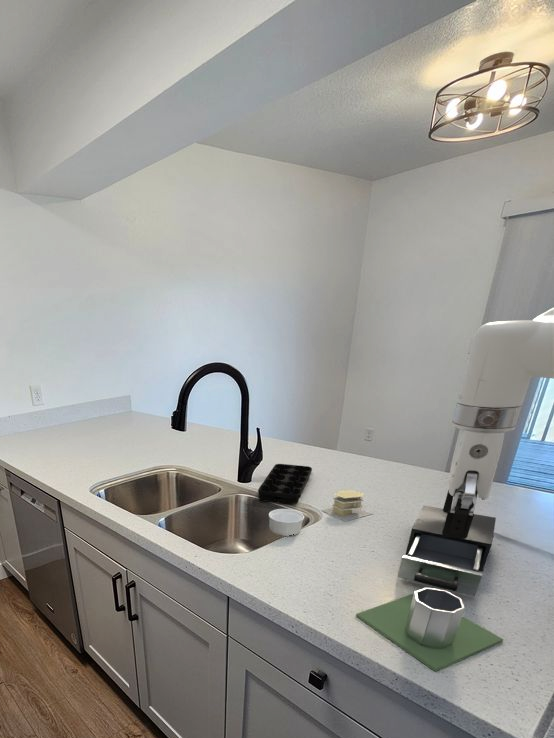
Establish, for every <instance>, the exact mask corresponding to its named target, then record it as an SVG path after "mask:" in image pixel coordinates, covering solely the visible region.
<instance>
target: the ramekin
mask: <svg viewBox="0 0 554 738" xmlns="http://www.w3.org/2000/svg"><path fill="white" fill-rule="evenodd" d="M268 520H269V521H268V523H269V525H268V527H269V530H270V532H271V533H273V534H275V535H278V536H283V537H290V536H289V535H292V536H296V535H298V534H299V533H300V532H301V530H302V526H303V521H304V520H305V515H304V514H303V513H302V512H300V511H298V510H295V509H290V508H278V509H277V508H276V509H273V510H271V511H269V513H268ZM293 534H294V535H293Z"/></svg>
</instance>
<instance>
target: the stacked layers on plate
mask: <svg viewBox="0 0 554 738" xmlns="http://www.w3.org/2000/svg"><path fill="white" fill-rule="evenodd" d="M334 496H335V497H333V498H332V500H334V502H333V504H332V505H331V506H332V507H329V508H325V509H321V510H320V511H321V512H323V513H325V514H327V515H330V516H332V517H334V518H336V519H339V520H341V521H343V522H349V521H352V520H356V519H359V518H362V517H366V516H371V515H372V514H373V513H372V512H369V511H366V510H364V509H362V508H363V504H362V502H363V501H364V498H363V497H365V494H364V493H363V492H361V491H360V492H359V491H355V490H352V489H342V490H340V491H338V492H335V493H334Z"/></svg>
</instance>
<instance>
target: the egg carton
mask: <svg viewBox="0 0 554 738" xmlns="http://www.w3.org/2000/svg"><path fill="white" fill-rule="evenodd" d="M312 472H313V468H312V467H311V466H307V465H297V464H286V463H276V464H274V466H273V467H272V469H271V470H270V471H269V473H268V475H267V476H266V477H265V479H264V481H263V482H262V483H261V484H260V486H259V488H258V489H257V492H258V499H259V500H260V501H263V502H266V503H267V502H269V503H275V502H277V501H278V502H280V503H281V504H285V505H294V504H297V503H298V502H299V501H300V500H299V499H300V498H301V496H302V493H303V491H304V489H305V487H306V485H307V483H308V480H309V478H310V477H311V476H310V475H311V474H312Z"/></svg>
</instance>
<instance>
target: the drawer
mask: <svg viewBox="0 0 554 738" xmlns="http://www.w3.org/2000/svg"><path fill="white" fill-rule="evenodd" d="M482 549H483V546H480V545H475V544H470V543H465V542H460V541H455V540H450V539H445V538H440V537H435V536H430V535H425V534H419V533H418V534H417V536H416V538H415V540H414V543H413V545H412V547H411V549H410V551H409V553H408V555H406V554H405V555H404V554H403V555H402V557H401V560H400V565H399V569H398V573H397V576H396V578H399V579H401V580H402V579H403V580H406V581H407V580H408V581H410V582H414V583H418V584H422V585H427V586H431V587H433V588H437V589H441V590H446V591H448V592H453V593H458V594H461V595H465V596H470V597H473V598H476V596H477V593H478V590H479V587H480V585H481V581H482V579H483V574H484V573H483V572H481V571H478V570H479V565H480V559H481V554H482Z"/></svg>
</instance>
